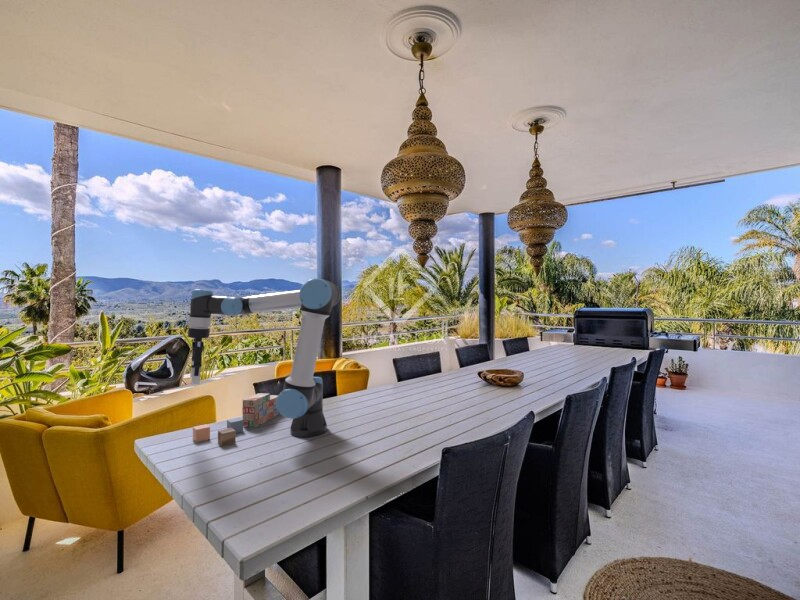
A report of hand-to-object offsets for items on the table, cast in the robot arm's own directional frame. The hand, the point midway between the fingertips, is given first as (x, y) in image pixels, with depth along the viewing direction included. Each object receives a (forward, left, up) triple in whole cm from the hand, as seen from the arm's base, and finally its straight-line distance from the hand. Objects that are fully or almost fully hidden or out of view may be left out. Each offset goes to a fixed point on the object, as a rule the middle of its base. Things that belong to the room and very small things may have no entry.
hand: (194, 380), depth 144 cm
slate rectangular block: (0, -15, -24) cm, 28 cm away
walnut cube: (-12, -8, -24) cm, 28 cm away
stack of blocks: (+8, -30, -24) cm, 40 cm away
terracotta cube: (0, -2, -24) cm, 24 cm away
